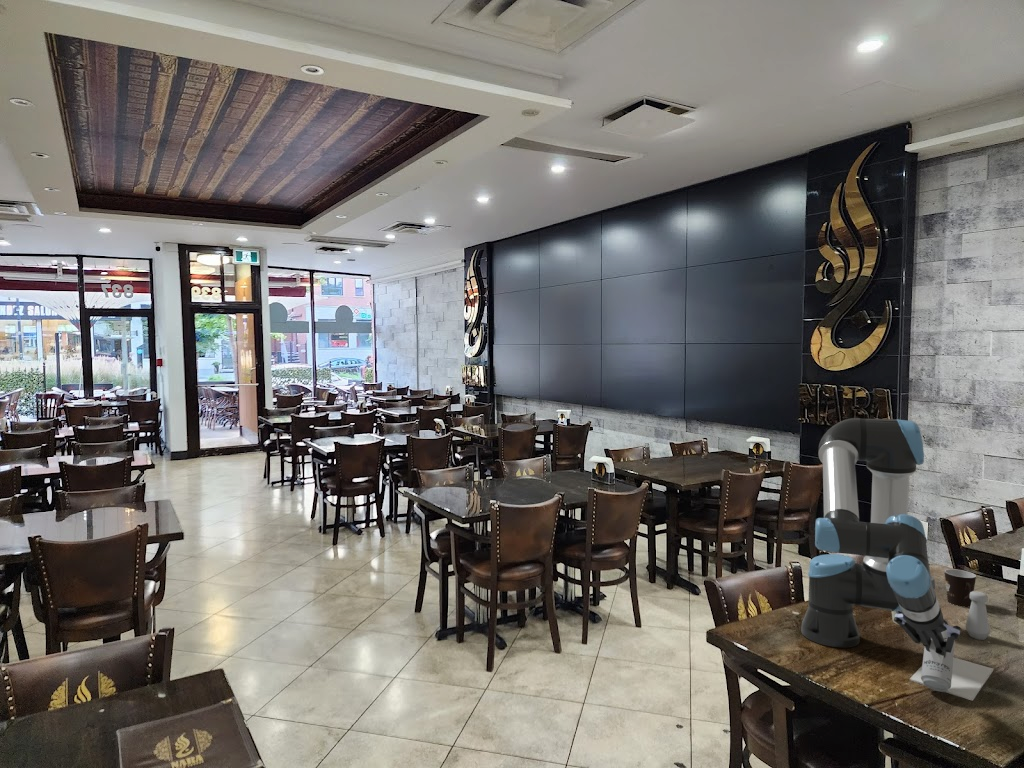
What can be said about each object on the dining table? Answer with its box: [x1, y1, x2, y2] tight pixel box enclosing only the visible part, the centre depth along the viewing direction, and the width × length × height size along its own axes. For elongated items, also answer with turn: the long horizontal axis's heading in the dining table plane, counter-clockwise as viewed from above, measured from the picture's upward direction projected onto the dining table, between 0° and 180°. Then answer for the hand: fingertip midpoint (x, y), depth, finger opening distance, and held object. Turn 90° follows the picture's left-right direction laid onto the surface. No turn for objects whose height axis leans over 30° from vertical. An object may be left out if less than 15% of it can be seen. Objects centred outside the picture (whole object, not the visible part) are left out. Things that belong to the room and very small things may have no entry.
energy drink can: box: [921, 630, 956, 693], centre depth 155 cm, size 6×6×15 cm
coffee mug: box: [944, 568, 977, 608], centre depth 208 cm, size 12×9×10 cm
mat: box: [909, 657, 994, 701], centre depth 161 cm, size 22×13×1 cm, turn 132°
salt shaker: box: [965, 590, 991, 641], centre depth 183 cm, size 6×6×13 cm
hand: (939, 657), depth 151 cm, fingers closed
